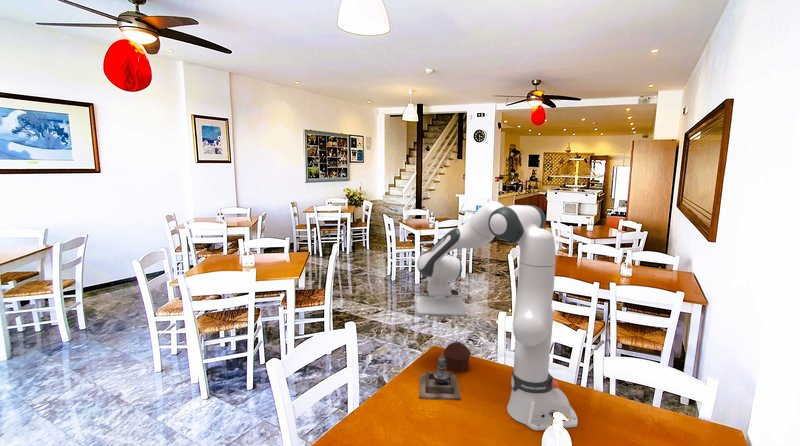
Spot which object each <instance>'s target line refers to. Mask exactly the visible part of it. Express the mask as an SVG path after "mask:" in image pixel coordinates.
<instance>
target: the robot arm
mask: <svg viewBox="0 0 800 446" xmlns="http://www.w3.org/2000/svg"><path fill="white" fill-rule="evenodd" d="M546 220H547V219H546V214H545V213H544V211H543V210H542V209H541V208H540V207H538V206H536V205H532V204H525V205H523V204H522V205H521V204H514V205H513V204H512V205H508V206H505V205H504V204H502V203H501V202H499V201H496V200H491V201H488V202H486V203H485V204H483V205H482V206H480V208H479V209H477V211H475V212H474V214H473V215H472V216H471V217H470V218H469V219H468V220H467V221H465V223H463V224H461V225H460V226H458V227H456V228H453V229H451V230H450V231H448V232H447V233H445V235H443V236H442V237H441V238H440V239H439V240H438V241H437V242H435V244H433V246H431V247H430V248H429V249H428V250H425V251H424V252H423V253H421V254H420V255H419V257H418V259H417V263H416V266H417V267H416V268H417V270H418V272H419V273H420V274H421V275H422V277H426V280H427V286H426V287H427V293H426V292H425V293H417V294H415V295H414V297H413V300H414V303H415V304H414V306H415V308H414V313H415V315H416V317H423V319H424V321H425V323H426V324H427V325H426V326H427V328H432V327H433V322H432V321H430V319H429V317H435V318H436V317H440V318H443V317H444V318H451V319H452V320H453V321H452V322H450V323H449V324H450V328H453V329H454V328H455V327H456V322H457V319H458V318H462V317H464V316H465V315H466V307H465V303H464V300H463V298H462V297H461V295H462V293H461V291H460V290H457V289H455V288H452V287H450V286H449V282H454V281H455V280H457V279H458V278H460V276H461V275H462V273H463V265H462V262H461V260H460V259H459V258H458V257H455V256H452V255H448V253H450V252H452V251H453V250H457V249H480V248H484V247H486V246H487V245H488V244H490V243H491V242H492V240H494V239H495V237H496V238H497V239H500V240H502V241H505V242H507V243H509V244H510V245H512V244H513V245H514V244H517V245H518V247H519V261H518V280H517V289H516V296H515V303H514V311H513V319H512V320H513V321H512V331H513V332H512V334H513V335H514V338H515V346H514V358H513V359H514V361H513V369H512V371H511V372H512V373H511V383H510V384H511V392H510V397H509V399H508V400H509V401H508V404H507V406H506V410H507V413H508V415H509V416H510V417H511V418H512V419H513V420H515V421H517V422H519V423H521V424H523V425H526V426H527V427H528V428H530V429H531V430H533V431H547V430H546V429H547V427H549V426H550V425H551V424H552V422H553V413H554V412H560V413H562V414H564V415H565V416H566V417H568V419H569V420H570V421H563V426H564V427H565V428H564V429H567V428H568V429H569V428H576V427H578V425H579V423H578V421H579V419H578V415H577V414H576V411H575V410H574V409H573V407H572V406H571V405H570V402H569V399H568V398H567V395H566V394H565V393H564V392H563V391H562V390H561V389H560V388H559V387H560V385H559V383H558V381H556V380H555V379H554V376H553V375H552V374H551V373H550V372H549V368H550V367H549V366H550V351H551V344H552V343H551V342H552V334H553V323H554V310H553V309H554V308H553V307H552V304H553V298H554V297H553V296H554V289H555V275H556V243H555V237H554V234H553V233H552V232H551V231H550V230H548V229H545V228H544V227H545V226H546Z"/></svg>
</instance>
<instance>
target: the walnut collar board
mask: <svg viewBox="0 0 800 446" xmlns="http://www.w3.org/2000/svg"><path fill="white" fill-rule="evenodd" d="M435 372H436V371H425V374H419V387H418V388H419V392H418V393H419V394H418V395H419V398H418V399H419V400H436V401H437V400H439V401H462V396H461V389H460V383H459V377H458V375H453V372H447V371H446V373H448V374H449V378H448V380H447V383H448V386H445V385H435V384H434V383H435V381H436V380H435V378H434V373H435Z"/></svg>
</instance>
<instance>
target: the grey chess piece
mask: <svg viewBox="0 0 800 446" xmlns="http://www.w3.org/2000/svg"><path fill="white" fill-rule="evenodd" d="M445 360H446V359H445V356H444V354H441V355H440V356H439V357H438V358H437V364H436V367H437V371H434V372H435V373H434V378H435V380H436V381H435V383H434V384H435V385H445V386H448V383H447V380H448V378H449V374H448V373H449V372H448V373H446V372H447V371H446V368H447V367H446V362H445Z"/></svg>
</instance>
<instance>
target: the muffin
mask: <svg viewBox="0 0 800 446" xmlns="http://www.w3.org/2000/svg"><path fill="white" fill-rule="evenodd" d="M471 355H472V353H471V351H470V348H468V346H466V345H465V344H464V343H461V342H459V341H458V342H456V341H455V342H451V343H449V344H448V345H446V347H445V348H444V350H443V356H444V357H445V359H446V360H445V365H446V368H447V369H448V371H450V372H452V373H463V372H467V369H468V367H469V363H470V358H471Z"/></svg>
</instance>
